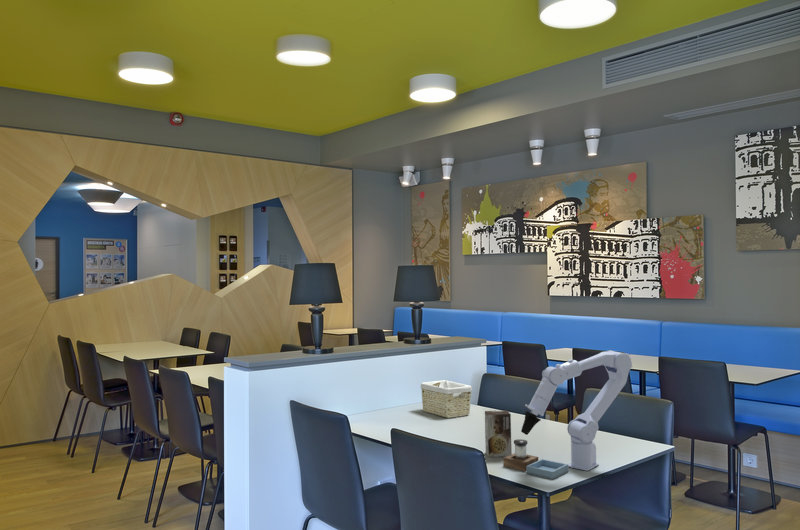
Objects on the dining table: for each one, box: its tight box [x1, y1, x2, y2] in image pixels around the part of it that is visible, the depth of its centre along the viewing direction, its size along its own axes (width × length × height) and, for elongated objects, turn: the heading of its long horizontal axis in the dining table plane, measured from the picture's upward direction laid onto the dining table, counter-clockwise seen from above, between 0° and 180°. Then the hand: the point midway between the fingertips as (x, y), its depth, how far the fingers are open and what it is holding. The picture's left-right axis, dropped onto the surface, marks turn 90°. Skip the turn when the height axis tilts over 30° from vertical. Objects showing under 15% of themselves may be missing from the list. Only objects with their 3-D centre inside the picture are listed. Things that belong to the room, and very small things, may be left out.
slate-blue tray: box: [525, 458, 569, 480], centre depth 215 cm, size 11×10×2 cm
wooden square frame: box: [502, 452, 539, 472], centre depth 223 cm, size 9×9×3 cm
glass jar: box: [513, 439, 528, 460], centre depth 223 cm, size 5×5×9 cm
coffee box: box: [484, 410, 513, 458], centre depth 238 cm, size 9×6×16 cm
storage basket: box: [420, 379, 473, 419], centre depth 312 cm, size 24×16×15 cm
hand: (523, 433), depth 217 cm, fingers open, 7 cm apart
